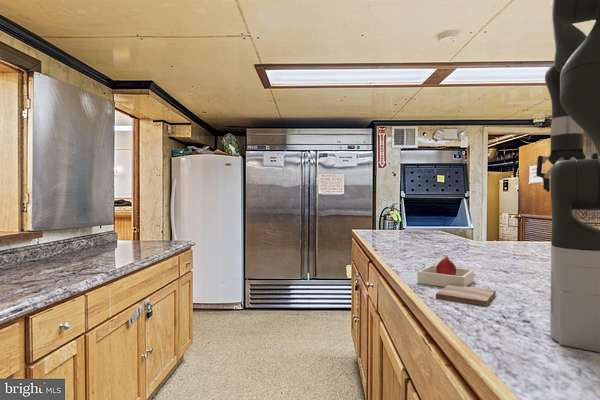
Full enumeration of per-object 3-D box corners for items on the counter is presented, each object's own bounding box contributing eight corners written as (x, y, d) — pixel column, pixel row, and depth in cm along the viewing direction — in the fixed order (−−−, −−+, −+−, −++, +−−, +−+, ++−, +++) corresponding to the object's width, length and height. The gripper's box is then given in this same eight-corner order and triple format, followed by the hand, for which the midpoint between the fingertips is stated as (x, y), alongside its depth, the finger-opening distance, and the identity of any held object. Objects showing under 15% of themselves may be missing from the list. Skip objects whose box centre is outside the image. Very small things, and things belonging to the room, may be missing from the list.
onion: (434, 282, 115) (435, 256, 115) (437, 279, 120) (437, 254, 120) (455, 284, 112) (455, 258, 112) (457, 281, 117) (457, 255, 117)
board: (486, 306, 90) (486, 301, 90) (435, 298, 97) (435, 293, 97) (495, 294, 101) (495, 290, 101) (449, 288, 108) (449, 284, 108)
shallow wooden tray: (463, 289, 107) (464, 277, 107) (417, 282, 114) (417, 271, 114) (473, 281, 117) (474, 269, 117) (430, 275, 125) (430, 265, 125)
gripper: (537, 134, 105) (536, 191, 106) (601, 130, 98) (600, 191, 98) (536, 138, 112) (535, 192, 112) (596, 134, 105) (595, 192, 105)
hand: (566, 191), depth 105 cm, fingers open, 8 cm apart
